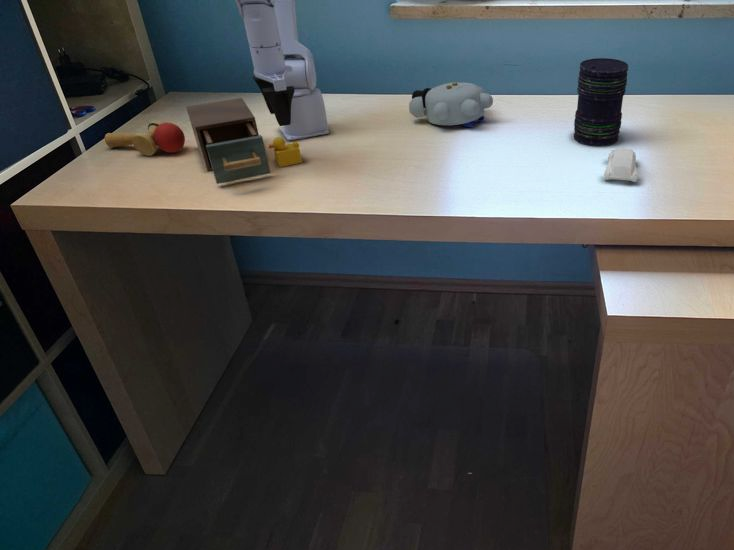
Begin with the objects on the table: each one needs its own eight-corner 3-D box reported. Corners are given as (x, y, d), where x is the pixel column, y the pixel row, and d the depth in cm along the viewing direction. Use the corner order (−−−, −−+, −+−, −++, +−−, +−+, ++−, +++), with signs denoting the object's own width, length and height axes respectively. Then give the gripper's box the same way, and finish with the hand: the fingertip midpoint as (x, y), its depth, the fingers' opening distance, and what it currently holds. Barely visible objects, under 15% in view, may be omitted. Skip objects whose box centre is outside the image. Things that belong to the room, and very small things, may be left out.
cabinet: (264, 160, 131) (254, 117, 126) (207, 171, 128) (194, 127, 122) (251, 138, 141) (241, 97, 135) (198, 148, 137) (185, 106, 131)
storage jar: (597, 126, 143) (605, 55, 134) (628, 139, 137) (639, 66, 127) (563, 136, 139) (569, 63, 129) (594, 150, 132) (602, 75, 123)
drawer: (276, 182, 121) (267, 145, 116) (221, 193, 118) (210, 156, 113) (257, 151, 133) (249, 116, 128) (207, 160, 130) (197, 125, 125)
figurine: (507, 113, 149) (440, 107, 159) (504, 75, 144) (436, 71, 154) (463, 137, 138) (395, 128, 149) (459, 96, 133) (388, 90, 144)
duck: (298, 156, 133) (293, 131, 129) (302, 162, 130) (298, 137, 127) (271, 162, 131) (265, 136, 127) (274, 168, 128) (269, 142, 125)
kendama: (102, 161, 136) (174, 155, 131) (91, 130, 133) (164, 123, 128) (127, 153, 142) (196, 147, 138) (116, 124, 139) (187, 116, 135)
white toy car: (637, 186, 119) (641, 162, 116) (603, 184, 120) (606, 160, 117) (637, 160, 128) (640, 138, 125) (605, 158, 129) (608, 136, 126)
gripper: (296, 50, 113) (309, 126, 121) (277, 33, 123) (291, 104, 131) (256, 55, 110) (272, 133, 119) (240, 37, 120) (257, 110, 129)
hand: (280, 118), depth 125 cm, fingers open, 7 cm apart
